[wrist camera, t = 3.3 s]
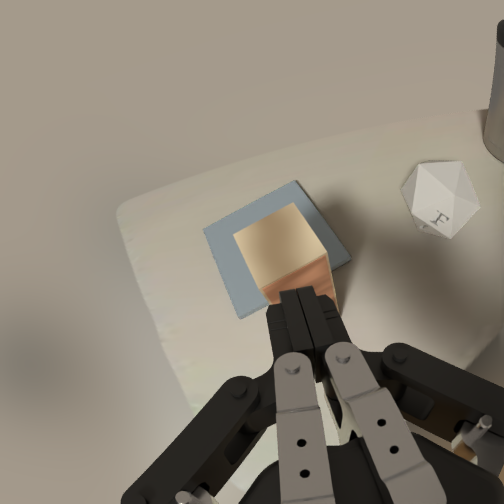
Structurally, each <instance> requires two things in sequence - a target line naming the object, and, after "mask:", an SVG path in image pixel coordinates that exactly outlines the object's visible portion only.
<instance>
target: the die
mask: <svg viewBox="0 0 504 504" xmlns="http://www.w3.org/2000/svg"><path fill="white" fill-rule="evenodd" d="M400 190H401V192H402V194H403V196H404V199H405V201H406V203H407V205H408V208H409V210H410V212H411V215H412V217H413V219H414V222H415V224H416V227H417V229H418V231H421V232H425V233H430V234H433V235H436V236H440V237H444V238H448V239H451V238H452V237H453V236H454V235H455V234H456V233H457V232H458V231H459V230H460V229H461V228H462V227H463V226H464V224H465V223H466V222H467V221H468V220H469V219H470V218H471V217H472V216H473V215H474V214H475V213H476V211H477V210H478V209H479V208H480V207H481V205H480V203H479V200H478V198H477V195H476V193H475V190H474V188H473V185H472V183H471V180H470V178H469V176H468V173H467V171H466V169H465V167H464V164H463V162H462V161H426V162H423V163H420V164H418V166H417V167H416V168H415V170H414V171H413V173H412V174H411V175H410V177H409V178H408V180H407V181H406V182H405V184H404V185H403V187H402V188H401V189H400Z"/></svg>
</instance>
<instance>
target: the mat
mask: <svg viewBox="0 0 504 504" xmlns="http://www.w3.org/2000/svg"><path fill="white" fill-rule="evenodd" d="M291 203H294V204H295V206H296V207H297V208H298V210H299V211H300V213H301V214H302V216H303V217H304V218H305V220H306V221H307V223H308V224H309V226H310V227H311V229H312V230H313V232H314V233H315V234H316V236H317V237H318V239H319V240H320V242H321V243H322V245H323V246H324V248H325V249H326V251H327V253H328V258H329V263H330V268H331V271H332V270H334V269H336V268H338V267H339V266H341V265H343V264H345V263H346V262H348V261H350V260H351V256H350V255H349V253H348V252H347V250H346V249H345V248H344V246H343V245H342V243H341V242H340V240H339V239H338V238H337V236H336V235H335V233H334V232H333V231H332V229H331V228H330V227H329V225H328V224H327V222H326V221H325V220H324V218H323V217H322V216H321V214H320V213H319V212H318V210H317V209H316V208H315V206H314V205H313V204H312V202H311V201H310V200H309V198H308V197H307V196H306V194H305V193H304V192H303V190H302V189H301V188H300V187H299V185H298V184H297V183H296V181H295V180H294V181H292V182H290V183H288V184H286V185H284V186H282V187H280V188H278V189H277V190H275V191H273V192H271V193H269V194H267V195H265V196H263V197H261V198H259V199H258V200H256V201H254V202H252V203H250V204H248V205H246V206H244V207H243V208H241V209H239V210H237V211H235V212H233V213H231V214H230V215H228V216H226V217H224V218H222V219H221V220H219V221H217V222H215V223H213V224H211V225H210V226H208V227H206V228H204V229H203V231H204V234H205V236H206V239H207V241H208V244H209V246H210V249H211V252H212V254H213V257H214V259H215V262H216V264H217V267H218V269H219V272H220V274H221V277H222V279H223V282H224V284H225V287H226V289H227V292H228V294H229V296H230V299H231V301H232V304H233V306H234V309H235V311H236V313H237V316H238V318H240V319H242V318H244V317H246V316H248V315H250V314H252V313H254V312H256V311H258V310H260V309H262V308H264V307H266V306H268V305H270V304H269V303H268V301H267V300H266V299H265V297H264V296H263V294H262V293H261V292H260V290H259V289H258V287H257V285H256V282H255V280H254V278H253V276H252V274H251V272H250V270H249V268H248V266H247V264H246V261H245V259H244V257H243V255H242V253H241V251H240V249H239V247H238V244H237V242H236V240H235V238H234V236H233V234H235V233H237V232H238V231H240V230H242V229H244V228H246V227H248V226H250V225H251V224H253V223H255V222H257V221H259V220H261V219H263V218H264V217H266V216H268V215H270V214H272V213H274V212H276V211H278V210H279V209H281V208H283V207H285V206H287V205H289V204H291Z"/></svg>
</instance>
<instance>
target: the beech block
mask: <svg viewBox="0 0 504 504" xmlns="http://www.w3.org/2000/svg"><path fill="white" fill-rule="evenodd" d="M233 236H234V238H235V240H236V242H237V244H238V247H239V249H240V251H241V253H242V255H243V257H244V259H245V261H246V264H247V266H248V268H249V270H250V272H251V274H252V276H253V278H254V280H255V282H256V285H257V287H258V289H259V290H260V292H261V293H262V294H263V296H264V297H265V299H266V300H267V301H268V303H269V304H270V305H272V304H278V303H280V299H279V291H284V290H290V289H295V290H296V288H300V287H305V286H310V285H312V286H313V288H314V291H315V293H316V296H319V295H324V294H326V295H327V296H328V297H330V298H331V299H332V300H333V301H334V303H335V305H336V308H337V311H338V312H339V309H338V304H337V298H336V293H335V288H334V283H333V278H332V273H331V268H330V263H329V258H328V253H327V251H326V249H325V248H324V246H323V245H322V243H321V242H320V240H319V239H318V237H317V236H316V234H315V233H314V232H313V230H312V229H311V227H310V226H309V224H308V223H307V221H306V220H305V218H304V217H303V216H302V214H301V213H300V211H299V210H298V208H297V207H296V206H295V204H294V203H291V204H289V205H287V206H285V207H283V208H281V209H279V210H278V211H276V212H274V213H272V214H270V215H268V216H266V217H264V218H263V219H261V220H259V221H257V222H255V223H253V224H251V225H250V226H248V227H246V228H244V229H242V230H240V231H238V232H237V233H235V234H233Z"/></svg>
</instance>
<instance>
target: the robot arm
mask: <svg viewBox="0 0 504 504" xmlns="http://www.w3.org/2000/svg"><path fill="white" fill-rule="evenodd" d="M483 140H484V143H485V145H486V147H487V149H488V150H489V151H490V152H491V153H492V154H493V155H494V156H495V157H496V158H497V159H499V160H500V161H502V162H504V20H501V21H500V22H499V23H498V26H497V43H496V56H495V67H494V76H493V85H492V92H491V98H490V104H489V109H488V115H487V120H486V125H485V130H484V135H483ZM279 299H280V303H278V304H272V305H269V307H268V310H267V312H266V317H267V323H268V329H269V334H270V340H271V346H272V351H273V357H274V361H273V365H272V367H271V368H270V369H269V370H268V371H267V372H266V373H265V374H263V375H261V376H259V377H257V378H255V379H251V378H249V377H246V376H236V377H233V378H230V379H229V380H227V381H226V382H225V383H224V384H223V385H222V386H221V387H220V389H219V390H218V391H217V392H216V393H215V394H214V396H213V397H212V398H211V399H210V400H209V401H208V403H207V404H206V405H205V406H204V407H203V408H202V410H201V411H200V412H199V413H198V414H197V415H196V416H195V417H194V419H193V420H192V421H191V422H190V423H189V424H188V426H187V427H186V428H185V429H184V430H183V431H182V432H181V433H180V434H179V435H178V437H177V438H176V439H175V440H174V441H173V442H172V443H171V444H170V445H169V446H168V448H167V449H166V450H165V451H164V452H163V453H162V454H161V455H160V456H159V457H158V458H157V459H156V460H155V461H154V462H153V464H152V465H151V466H150V467H149V468H148V469H147V470H146V471H145V472H144V473H143V474H142V475H141V476H140V477H139V478H138V479H137V480H136V481H135V482H134V483H133V484H132V485H131V486H130V487H129V488H128V490H126V492H125V493H124V494H123V496H122V498H121V504H219V503H218V502H217V500H216V499H215V498H214V497H215V496H216V495H217V493H218V492H219V491H220V490H221V489H222V487H223V486H224V485H225V484H226V482H227V481H228V480H229V479H230V477H231V476H232V475H233V474H234V472H235V471H236V470H237V468H238V467H239V466H240V465H241V463H242V462H243V461H244V459H245V458H246V457H247V455H248V454H249V453H250V451H251V450H252V449H253V447H254V446H255V445H256V443H257V442H258V441H259V439H260V438H261V436H262V435H263V434H264V432H265V431H266V429H267V427H269V426H271V425H273V424H275V423H276V424H277V440H278V456H279V460H277V461H275V462H274V463H272V464H271V465H269V466H268V467H267V468H265V469H264V470H263V471H262V472H261V473H260V474H259V475H258V477H257V478H256V479H255V481H254V482H253V484H252V485H251V487H250V488H249V489H248V491H247V492H246V494H245V495H244V497H243V498H242V499H241V501H240V502H239V504H504V486H503V484H502V482H501V480H500V479H499V478H498V476H499V474H500V472H501V469H502V467H503V465H504V388H503V387H500V386H498V385H496V384H494V383H491V382H489V381H487V380H485V379H482V378H480V377H478V376H476V375H473V374H471V373H469V372H467V371H465V370H462V369H460V368H458V367H456V366H454V365H451V364H449V363H447V362H445V361H442V360H440V359H438V358H436V357H434V356H431V355H429V354H427V353H425V352H423V351H421V350H418V349H416V348H414V347H412V346H410V345H407V344H405V343H393V344H390V345H389V346H387V347H386V348H385V349H384V351H383V352H367V351H363V350H360V349H359V348H358V347H357V346H355V345H354V344H353V343H352V342H351V340H350V338H349V335H348V333H347V331H346V328H345V326H344V324H343V321H342V319H341V317H340V314H339V312H338V311H337V308H336V305H335V303H334V301H333V300H332V299H331V298H330V297H328V296H327V295H326V294H324V295H319V296H316V293H315V291H314V288H313V286H312V285H310V286H305V287H300V288H296V290H295V289H290V290H284V291H279ZM314 378H315V381H316V383H319V382H322V383H323V387H324V397H325V400H326V403H327V406H328V408H329V411H330V414H331V416H332V419H333V421H334V424H335V427H336V429H337V432H338V436H339V443H340V445H339V446H326V441H325V434H324V428H323V422H322V416H321V410H320V407H319V406H318V401H317V395H316V389H315V383H314ZM404 419H405V420H407V421H409V422H411V423H413V424H415V425H417V426H419V427H420V428H423V429H424V430H426V431H428V432H430V433H432V434H434V435H436V436H438V437H440V438H442V439H444V440H446V441H449V442H451V443H452V450H453V452H454V453H452V452H451V451H448V450H447V449H445V448H443V447H441V446H439V445H437V444H435V443H434V442H432V441H430V440H428V439H427V438H425V437H423V436H421V435H419V434H416V433H414V432H410V430H409V428H408V426H407V424H406V422H405V420H404Z"/></svg>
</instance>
